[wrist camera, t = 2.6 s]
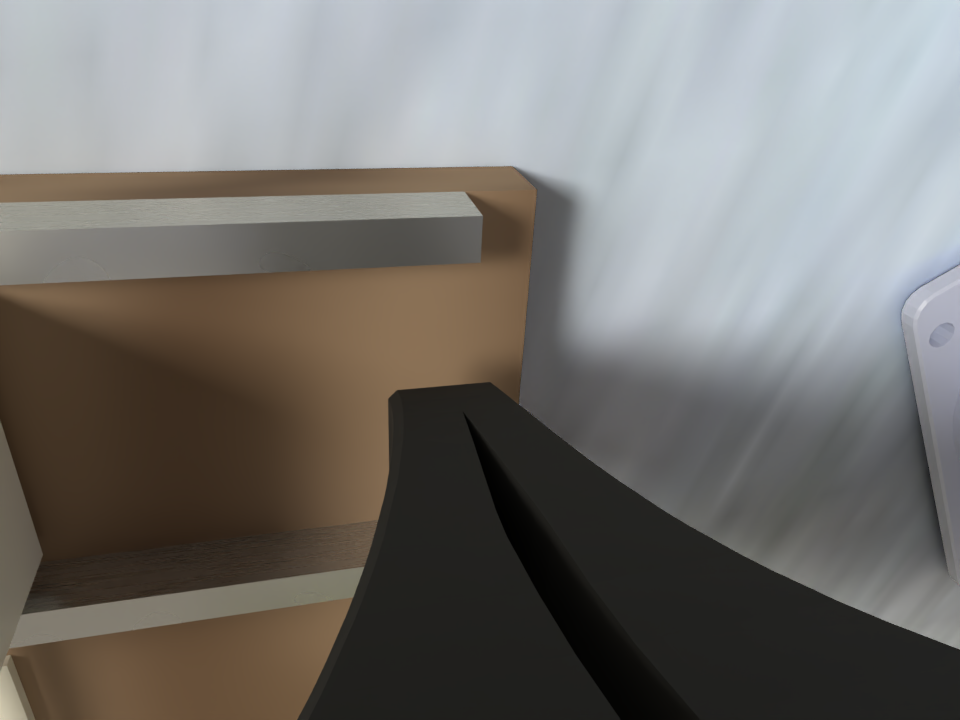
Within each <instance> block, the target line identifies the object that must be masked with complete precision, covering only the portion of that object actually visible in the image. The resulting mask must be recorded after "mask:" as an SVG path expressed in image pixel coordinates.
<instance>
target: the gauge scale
mask: <svg viewBox="0 0 960 720" xmlns="http://www.w3.org/2000/svg"><path fill="white" fill-rule="evenodd" d="M0 720H35V718H34V715H33V712H32V710H31V707H30V704H29V702H28V699H27V696H26V694H25V691H24V689H23V686H22V683H21V681H20V678H19V675H18V673H17V670H16V668H15V665H14V662H13V660H12V657H11V655H7V656H6V658H5V660H4V663H3V666H2V669H1V671H0Z"/></svg>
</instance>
